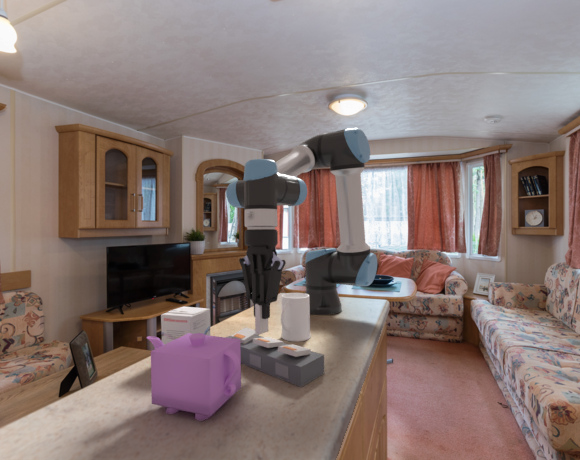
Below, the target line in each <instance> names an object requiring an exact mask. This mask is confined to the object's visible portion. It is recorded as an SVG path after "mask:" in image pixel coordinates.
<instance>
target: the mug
mask: <svg viewBox="0 0 580 460" xmlns="http://www.w3.org/2000/svg"><path fill="white" fill-rule="evenodd" d="M310 315H311V314H310V303H309V294H306V293H305V292H287V293H284V294H281V314H280V324H281V338H282V339H283V340H284V341H288V342H304V341H307V340H309V339H310V338H311V336H312V334H311V318H310V317H311V316H310Z"/></svg>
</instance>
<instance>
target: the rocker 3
mask: <svg viewBox="0 0 580 460" xmlns="http://www.w3.org/2000/svg"><path fill="white" fill-rule="evenodd" d="M278 351H279V352H282V353H286V354H289V355H292V356H295V357H297V356H303V355H309V354H310V352H311V351H312V350H311V348H307V347H304V346H300V345H296V344H293V343H292V344H289V345H284V346H278Z"/></svg>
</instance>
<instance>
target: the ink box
mask: <svg viewBox="0 0 580 460" xmlns="http://www.w3.org/2000/svg"><path fill="white" fill-rule="evenodd" d="M160 327H161V331H160V332H161V341H162V342H163V344H164V345H165V344H167V343H169V342H171V341H173V340H175V339H177V338H179V337H181V336H184V335H186V334H188V333H191V334H195V333H203V334H205V335H208V336H211V308H205V307H196V306H195V307H193V306H180V307H177V308H174V309H171V310H169V311H167V312H165V313H161V315H160Z"/></svg>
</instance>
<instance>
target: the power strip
mask: <svg viewBox="0 0 580 460" xmlns="http://www.w3.org/2000/svg"><path fill="white" fill-rule="evenodd" d="M264 337H265V336H261V335H258V336H257V337H255V338H264ZM225 338H231V335H229V336H226V337H225ZM284 345H290V344H288V343H286V342H283V346H284ZM240 350H241V365H244V366H246V367H248V368H252V369H253V370H257V371H259V372H262V373H264V374H266V375H270V376H271V377H274V378H277V379H279V380H282V381H284V382H287V383H290V384H292V385H294V386H297V387H300V388H302V387H304V386H306V385H307V384H308V383H311V382H312V381H314V380H316V379H317V378H319V377H321V376H323V375H325V354H323V353H318V352H315V351H313V350H311V352H310V354H309V355H303V356H297V357H295V356H292V355H289V354H286V353H282V352H279V351H278V347H271V348H267V347H264V346H261V345H257V344H254V343H253V339H252V340H250V341H249V342H247V343H245V344H243V343H240Z"/></svg>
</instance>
